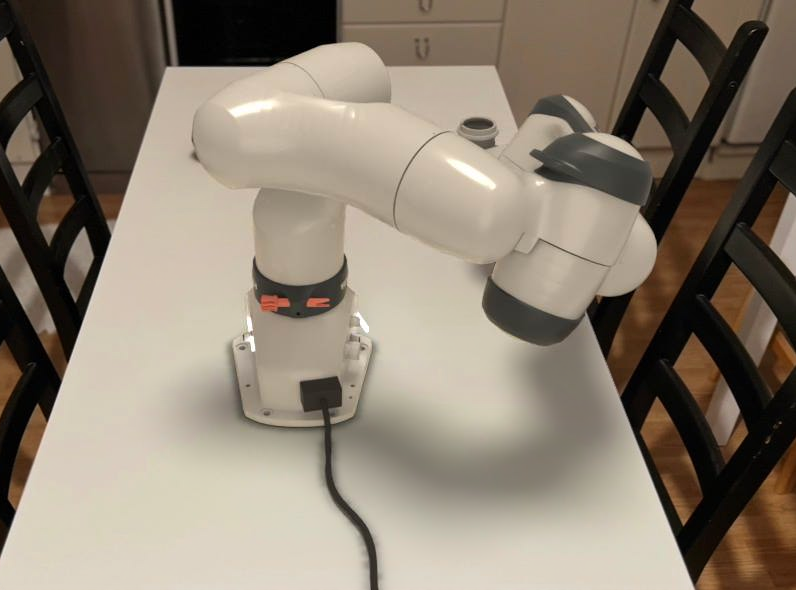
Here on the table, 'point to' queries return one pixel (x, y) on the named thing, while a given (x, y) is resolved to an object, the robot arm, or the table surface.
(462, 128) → the cup
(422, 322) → the table surface
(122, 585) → the table surface
